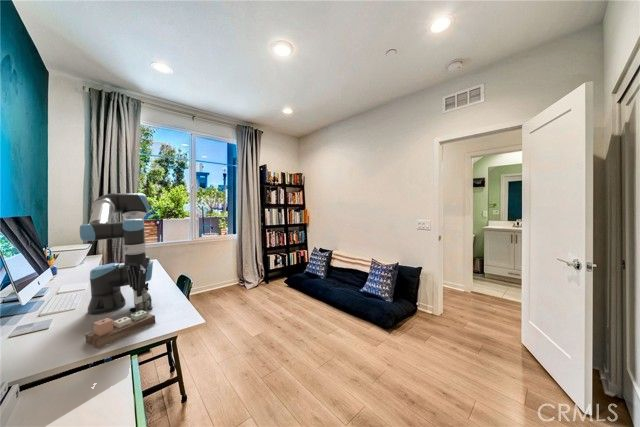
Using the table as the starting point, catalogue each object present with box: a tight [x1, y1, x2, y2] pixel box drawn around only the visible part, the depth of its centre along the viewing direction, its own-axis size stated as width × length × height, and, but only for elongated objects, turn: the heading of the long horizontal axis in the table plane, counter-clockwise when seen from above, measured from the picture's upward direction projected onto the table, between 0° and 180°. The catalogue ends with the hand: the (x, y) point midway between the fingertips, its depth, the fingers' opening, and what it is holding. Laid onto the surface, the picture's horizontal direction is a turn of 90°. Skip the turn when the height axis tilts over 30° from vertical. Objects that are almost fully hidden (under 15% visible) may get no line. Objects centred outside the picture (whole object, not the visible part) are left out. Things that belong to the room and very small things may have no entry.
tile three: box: [130, 310, 148, 321], centre depth 108 cm, size 4×4×5 cm
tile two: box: [113, 316, 131, 328], centre depth 102 cm, size 4×4×5 cm
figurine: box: [129, 282, 153, 313], centre depth 121 cm, size 10×10×15 cm
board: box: [84, 312, 156, 350], centre depth 102 cm, size 10×21×4 cm, turn 156°
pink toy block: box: [93, 317, 114, 337], centre depth 96 cm, size 4×4×5 cm
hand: (138, 302), depth 108 cm, fingers closed
